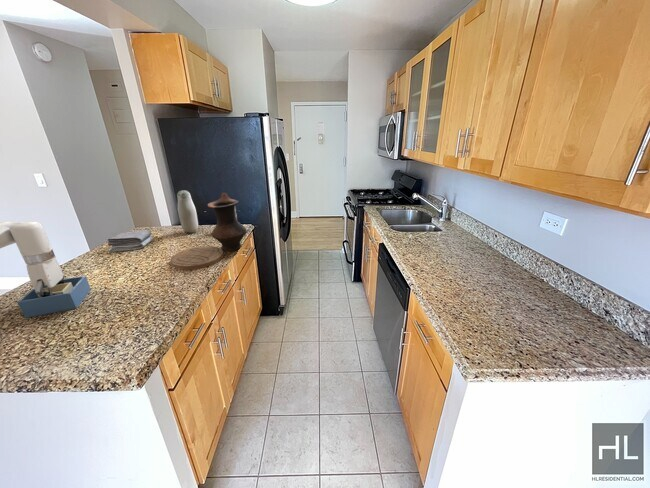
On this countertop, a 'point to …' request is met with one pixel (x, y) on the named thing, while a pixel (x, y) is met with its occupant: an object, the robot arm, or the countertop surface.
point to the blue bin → (55, 299)
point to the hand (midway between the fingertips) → (58, 298)
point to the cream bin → (60, 289)
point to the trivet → (196, 257)
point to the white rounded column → (187, 212)
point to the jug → (227, 223)
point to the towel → (129, 241)
